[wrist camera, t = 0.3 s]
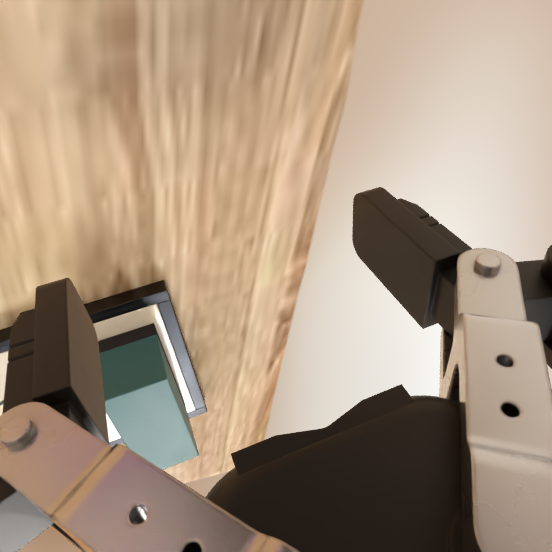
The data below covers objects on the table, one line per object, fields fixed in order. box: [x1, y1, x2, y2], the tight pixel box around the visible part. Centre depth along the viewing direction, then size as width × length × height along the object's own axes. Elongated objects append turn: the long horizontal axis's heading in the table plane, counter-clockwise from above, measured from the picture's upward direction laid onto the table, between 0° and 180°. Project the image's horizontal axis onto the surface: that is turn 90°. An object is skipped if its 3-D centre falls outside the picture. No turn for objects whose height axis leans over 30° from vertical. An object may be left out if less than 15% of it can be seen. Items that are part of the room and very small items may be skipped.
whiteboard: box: [0, 281, 207, 447], centre depth 37 cm, size 16×22×1 cm
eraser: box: [98, 323, 199, 470], centre depth 36 cm, size 11×5×6 cm, turn 5°
